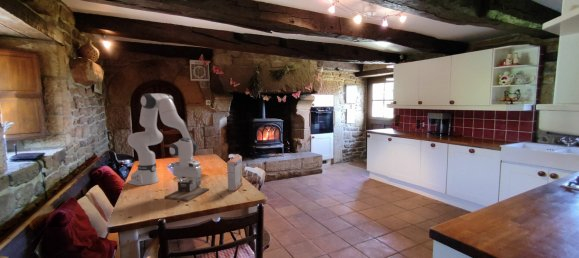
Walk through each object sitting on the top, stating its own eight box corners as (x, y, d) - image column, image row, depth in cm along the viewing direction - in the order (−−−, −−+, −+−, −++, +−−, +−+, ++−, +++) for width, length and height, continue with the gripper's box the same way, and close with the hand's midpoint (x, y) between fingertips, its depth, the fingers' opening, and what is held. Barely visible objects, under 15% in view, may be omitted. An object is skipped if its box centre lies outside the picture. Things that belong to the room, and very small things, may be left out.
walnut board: (164, 198, 175) (164, 196, 175) (187, 187, 196) (187, 186, 196) (188, 201, 170) (188, 199, 170) (209, 190, 191) (208, 188, 191)
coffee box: (201, 175, 199) (189, 182, 183) (201, 184, 200) (190, 192, 184) (189, 175, 200) (177, 182, 184) (190, 183, 201) (177, 191, 185)
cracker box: (234, 184, 203) (234, 157, 201) (242, 185, 202) (242, 157, 200) (227, 191, 189) (226, 161, 187) (235, 191, 188) (235, 161, 186)
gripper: (170, 162, 181) (171, 183, 182) (196, 164, 175) (197, 186, 176) (176, 160, 187) (177, 180, 188) (202, 162, 181) (203, 183, 182)
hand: (187, 183), depth 182 cm, fingers open, 8 cm apart
